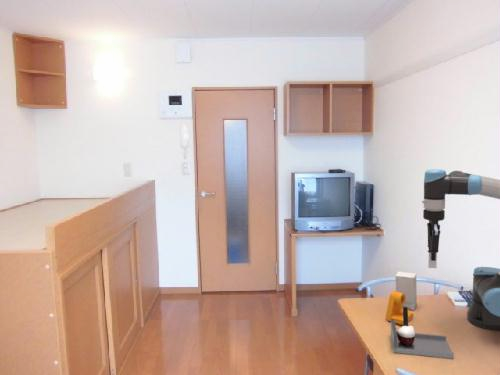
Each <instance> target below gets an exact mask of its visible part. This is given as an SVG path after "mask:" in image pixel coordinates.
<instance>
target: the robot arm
mask: <svg viewBox="0 0 500 375" xmlns="http://www.w3.org/2000/svg"><path fill="white" fill-rule="evenodd" d="M446 195H459V196H460V195H461V196H462V195H463V196H464V195H465V196H468V195H469V196H475V195H479V196H484V197H487V198H489V197H490V198H493V199H497V200H500V179H497V178H493V177H492V178H491V177H489V176H488V177H487V176H484V175H483V176H482V175H478V174H473V173H468V172H463V171H461V170H453V171H450V172H449V173H448V174H447V171H446V170H445V169H434V168H433V169H427V170H425V172H424V179H423V200H421V203H422V204H423V208H424V209H423V212H422V213H423V215H422V218H423V219H424V220H427V221H428V222H427V223H426V226H427V248H428V250H427V252H428V266H427V267H428V268H429V269H437V264H438V263H437V261H438V260H437V259H438V253H439V246H440V245H439V244H440V234H441V230H440V228H441V225H440V223H439V222H440V221H444V220H445V218H446V217H445V215H446V214H445V213H446V212H445V210H444V209H446ZM472 276H473V278H472V298H471V299H472V301H471V303H470V306H469V307H468V310H467V312H466V313H467V314H466V319H467V321H468V322H469V323H470V324H472V325H474V326H476V327H479V328H483V329H484V330H485V329H486V330H493V331H500V268H497V267H493V266H492V267H491V266H490V267H489V266H477V267H475V268H474V269H473V274H472Z"/></svg>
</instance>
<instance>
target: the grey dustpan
mask: <svg viewBox="0 0 500 375" xmlns="http://www.w3.org/2000/svg"><path fill="white" fill-rule="evenodd" d="M397 331H398V330H397V326H396V323H395V321H394V319H391V321H390V339H391V345H392V350H393V353H394V354H403V355H404V354H405V355H410V356H411V355H412V356H420V357H421V356H422V357H430V358H431V357H432V358H439V359H451V360H453V359H454V355H455V354H454V352H452V349H451V348H450V344H449V343H448V340H447V335H443V334H442V335H441V334H431V333H430V334H429V333H420V332H419V333H418V332H415V339H414V342H413V343H412V344H411V345H404V344H402V343H401V342H400V341H399V340H398V336H397Z"/></svg>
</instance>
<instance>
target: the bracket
mask: <svg viewBox="0 0 500 375" xmlns="http://www.w3.org/2000/svg"><path fill="white" fill-rule="evenodd" d="M404 303H405V294H403V293H400V292H396V290H392V291H391V292H390V294H389V297H388V303H387V307H386V308H387V309H386V315H385V320H386V321H389V322H391V319H394V321H395V324H398V325H402V326H404V325H403V308H402V306H403V305H404ZM412 318H414V312H413V310H408V323H409V322H410V321H411V320H412Z"/></svg>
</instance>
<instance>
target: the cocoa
mask: <svg viewBox="0 0 500 375" xmlns="http://www.w3.org/2000/svg"><path fill="white" fill-rule="evenodd" d="M402 309H403V325H402V326H401V327H399V329H398V330H396V331H397V336H398V340H399V341H400V342H401V343H402V344H404V345H411V344H412V343H413V342H414V339H415V333H416V332H415V328H414V326H412V325H409V322H408V311H409V309H408V307H403V308H402Z"/></svg>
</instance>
